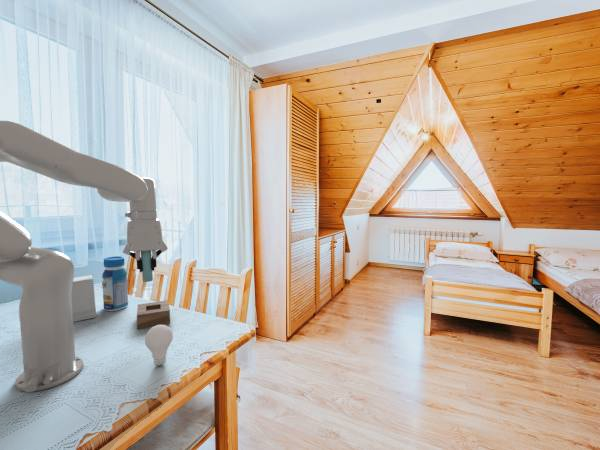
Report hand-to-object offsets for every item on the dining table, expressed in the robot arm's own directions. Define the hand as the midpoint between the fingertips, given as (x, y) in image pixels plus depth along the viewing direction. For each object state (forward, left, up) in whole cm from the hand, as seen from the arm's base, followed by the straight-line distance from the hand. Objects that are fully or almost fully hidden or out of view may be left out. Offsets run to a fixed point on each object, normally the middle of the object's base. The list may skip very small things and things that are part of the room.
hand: (147, 269), depth 95 cm
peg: (0, 0, -4) cm, 4 cm away
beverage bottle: (+23, +11, -20) cm, 33 cm away
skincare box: (+17, +21, -20) cm, 34 cm away
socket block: (+4, -2, -20) cm, 20 cm away
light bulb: (-26, -3, -20) cm, 33 cm away
